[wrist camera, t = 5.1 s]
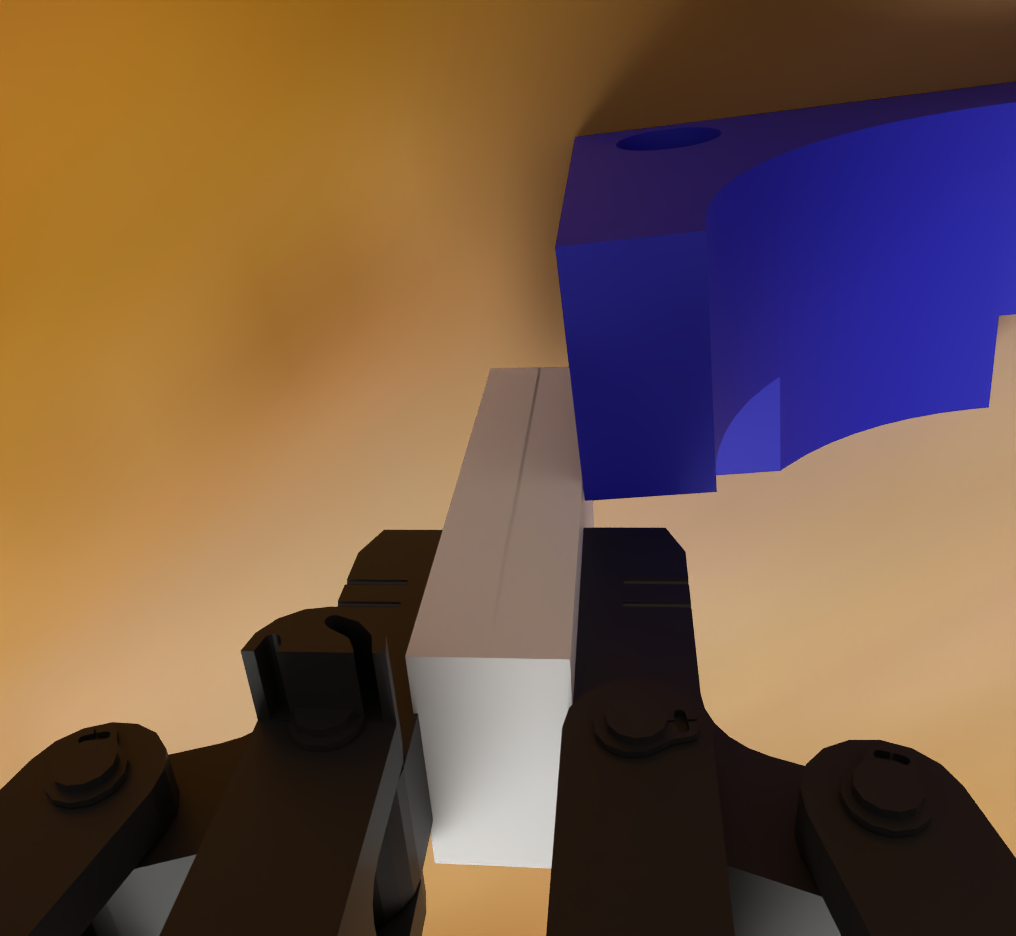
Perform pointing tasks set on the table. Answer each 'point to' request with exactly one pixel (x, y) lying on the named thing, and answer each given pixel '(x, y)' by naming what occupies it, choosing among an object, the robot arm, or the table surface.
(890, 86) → the table surface
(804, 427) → the cable clip
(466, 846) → the robot arm
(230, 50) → the table surface
